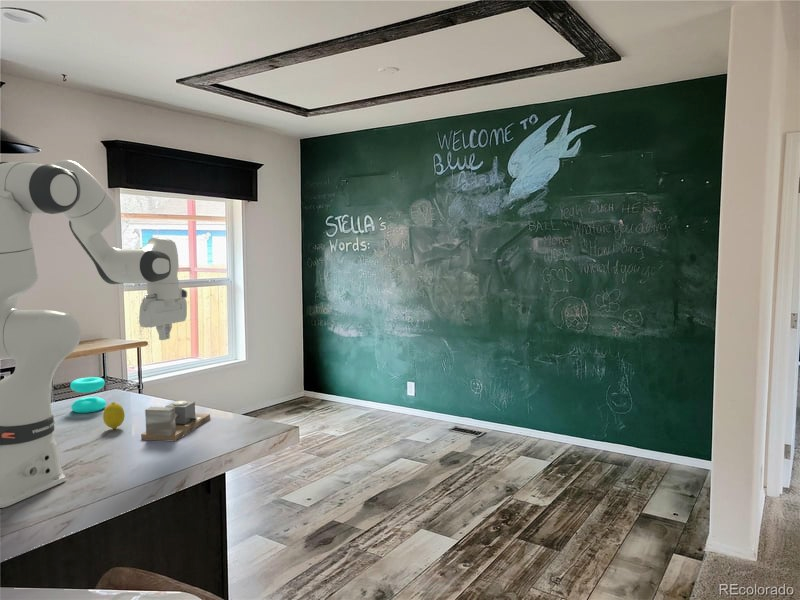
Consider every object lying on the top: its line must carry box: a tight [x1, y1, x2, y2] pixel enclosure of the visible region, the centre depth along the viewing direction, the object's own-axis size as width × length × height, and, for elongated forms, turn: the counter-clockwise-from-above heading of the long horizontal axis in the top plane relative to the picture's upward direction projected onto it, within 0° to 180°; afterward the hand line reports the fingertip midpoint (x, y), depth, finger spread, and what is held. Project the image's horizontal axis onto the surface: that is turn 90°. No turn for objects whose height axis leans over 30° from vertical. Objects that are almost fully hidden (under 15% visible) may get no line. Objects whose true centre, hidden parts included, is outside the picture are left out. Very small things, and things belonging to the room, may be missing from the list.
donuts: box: [69, 376, 107, 414], centre depth 190 cm, size 10×10×10 cm
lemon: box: [102, 401, 125, 430], centre depth 169 cm, size 6×6×8 cm
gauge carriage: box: [164, 400, 197, 424], centre depth 170 cm, size 9×8×5 cm
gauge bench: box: [140, 406, 211, 442], centre depth 170 cm, size 21×10×8 cm, turn 172°
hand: (164, 339), depth 173 cm, fingers closed
